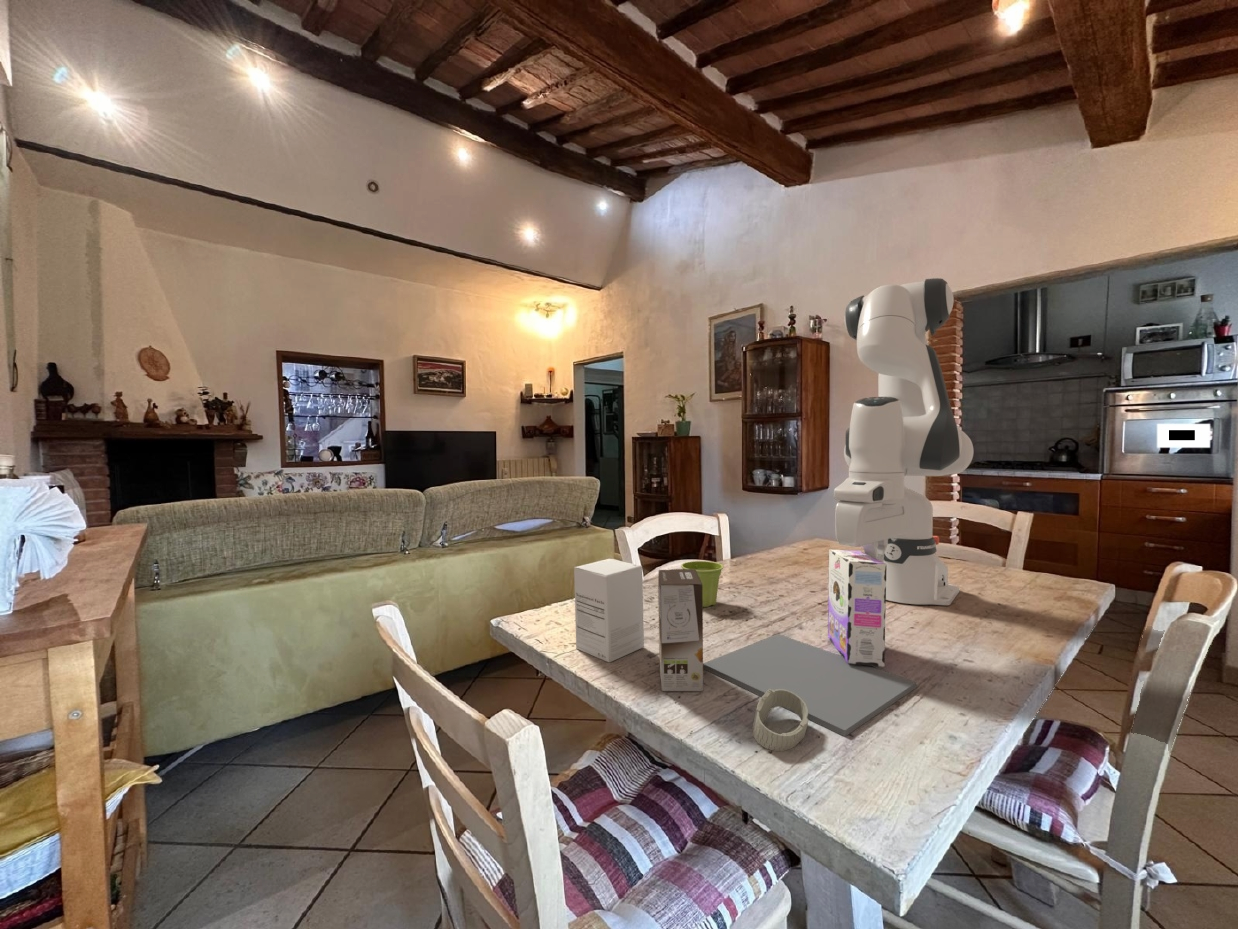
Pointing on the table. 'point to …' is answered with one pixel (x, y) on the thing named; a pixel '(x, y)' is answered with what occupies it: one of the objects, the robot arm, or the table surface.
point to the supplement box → (609, 608)
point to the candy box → (857, 606)
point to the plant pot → (707, 578)
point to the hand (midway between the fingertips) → (875, 564)
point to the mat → (813, 680)
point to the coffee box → (680, 630)
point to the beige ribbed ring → (763, 708)
